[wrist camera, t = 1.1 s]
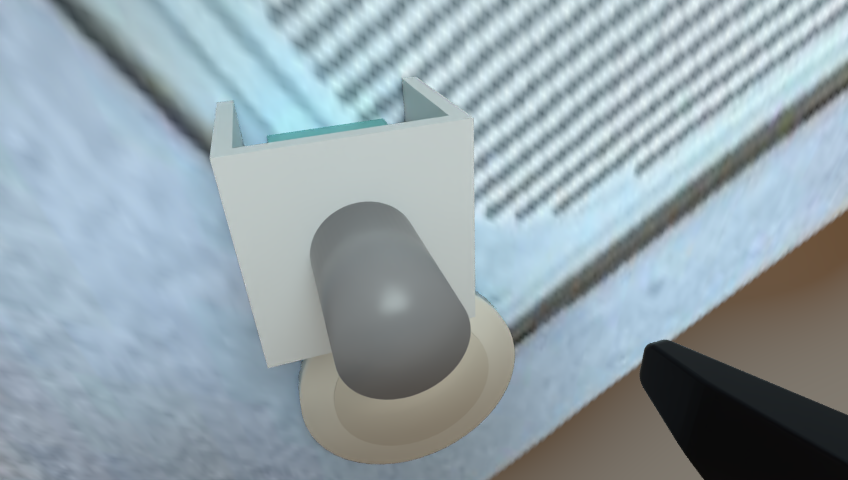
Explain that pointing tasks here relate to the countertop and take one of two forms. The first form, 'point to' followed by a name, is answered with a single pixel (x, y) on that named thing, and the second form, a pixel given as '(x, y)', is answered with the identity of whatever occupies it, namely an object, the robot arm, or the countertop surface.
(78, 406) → the countertop surface
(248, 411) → the countertop surface
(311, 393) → the saucer
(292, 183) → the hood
